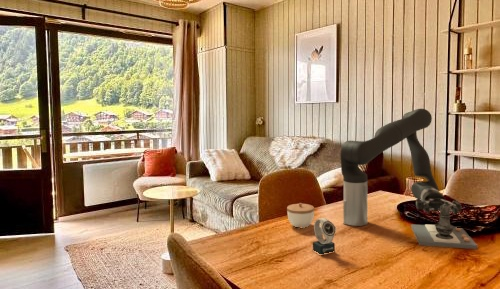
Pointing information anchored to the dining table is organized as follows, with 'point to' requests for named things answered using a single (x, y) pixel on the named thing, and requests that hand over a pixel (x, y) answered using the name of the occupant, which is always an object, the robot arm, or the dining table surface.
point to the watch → (328, 232)
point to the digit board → (428, 238)
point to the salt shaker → (444, 223)
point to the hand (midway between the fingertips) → (442, 210)
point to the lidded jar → (300, 214)
